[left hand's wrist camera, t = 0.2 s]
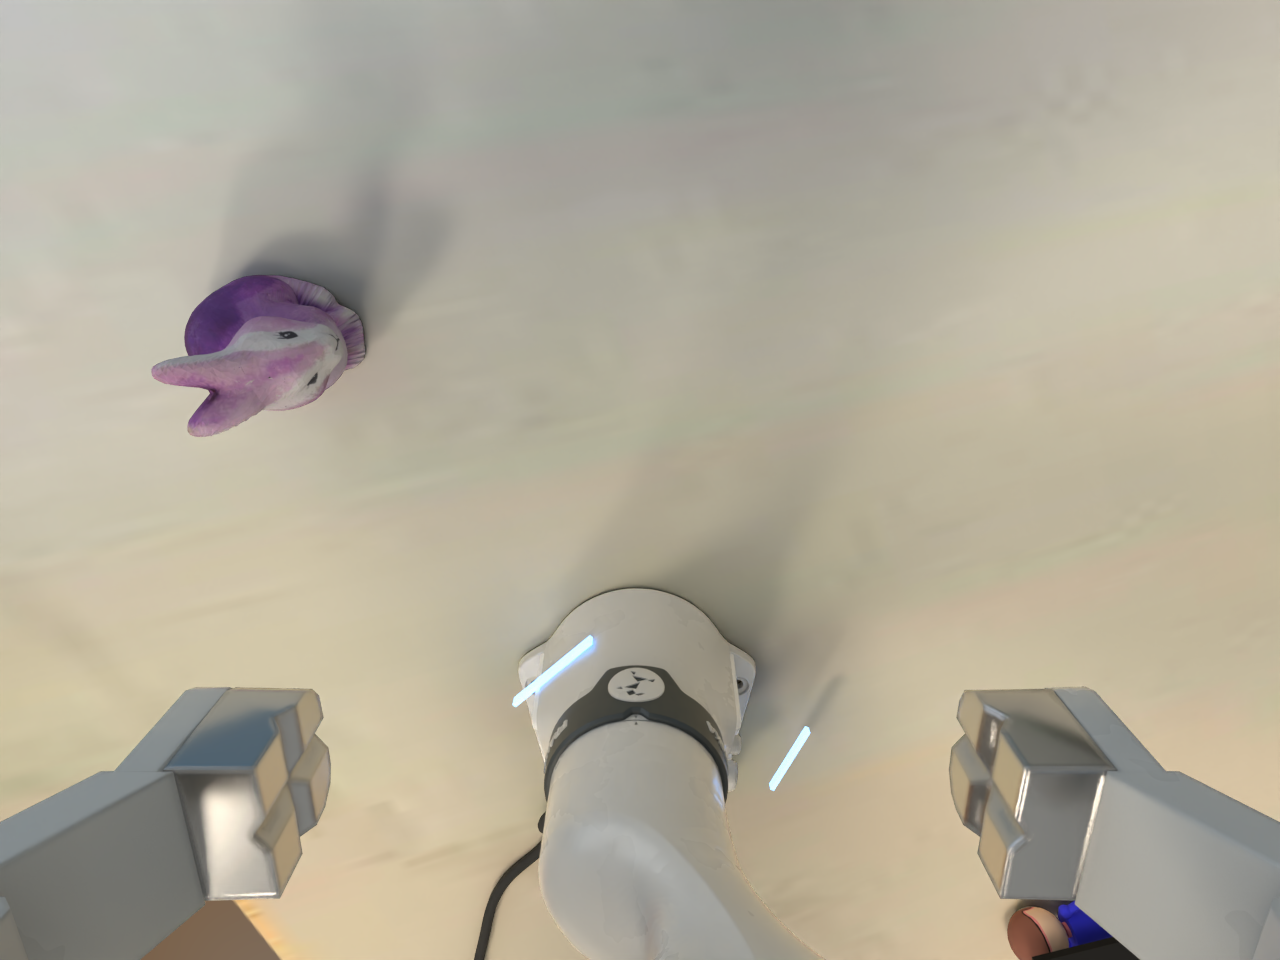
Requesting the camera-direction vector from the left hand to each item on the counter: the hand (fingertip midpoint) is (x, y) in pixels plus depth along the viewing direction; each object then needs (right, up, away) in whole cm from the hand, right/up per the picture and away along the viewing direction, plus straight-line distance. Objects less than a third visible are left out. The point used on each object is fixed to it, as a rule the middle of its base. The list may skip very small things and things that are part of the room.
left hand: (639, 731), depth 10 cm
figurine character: (+40, -35, +64) cm, 83 cm away
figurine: (-23, +14, +46) cm, 53 cm away
